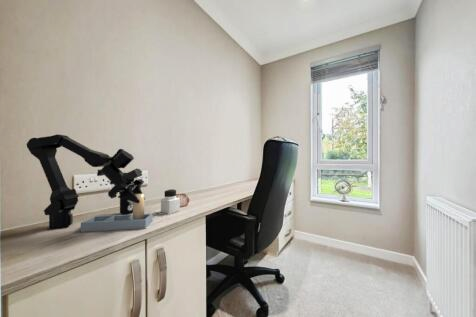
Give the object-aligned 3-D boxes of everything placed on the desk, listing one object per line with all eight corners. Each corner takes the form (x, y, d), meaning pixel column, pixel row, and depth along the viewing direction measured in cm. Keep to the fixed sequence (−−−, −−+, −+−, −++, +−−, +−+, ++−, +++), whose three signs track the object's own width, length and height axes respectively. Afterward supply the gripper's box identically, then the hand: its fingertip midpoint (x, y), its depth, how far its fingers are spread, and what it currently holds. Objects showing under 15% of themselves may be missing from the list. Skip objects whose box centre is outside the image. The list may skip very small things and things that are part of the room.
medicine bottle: (180, 211, 103) (180, 189, 103) (169, 214, 97) (169, 191, 97) (171, 209, 107) (171, 188, 107) (160, 212, 101) (160, 190, 101)
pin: (135, 219, 78) (135, 195, 78) (131, 217, 81) (131, 194, 81) (146, 217, 82) (146, 194, 82) (141, 215, 84) (141, 193, 84)
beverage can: (123, 215, 95) (123, 192, 96) (117, 213, 99) (117, 191, 99) (136, 212, 101) (136, 190, 101) (130, 210, 105) (130, 189, 105)
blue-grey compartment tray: (80, 231, 75) (80, 222, 75) (94, 224, 83) (94, 216, 83) (145, 228, 78) (145, 219, 78) (152, 221, 86) (152, 213, 86)
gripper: (116, 163, 72) (145, 191, 72) (139, 162, 91) (163, 185, 91) (95, 183, 72) (124, 212, 72) (123, 178, 90) (146, 201, 91)
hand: (141, 201), depth 81 cm, fingers closed on pin, 4 cm apart
